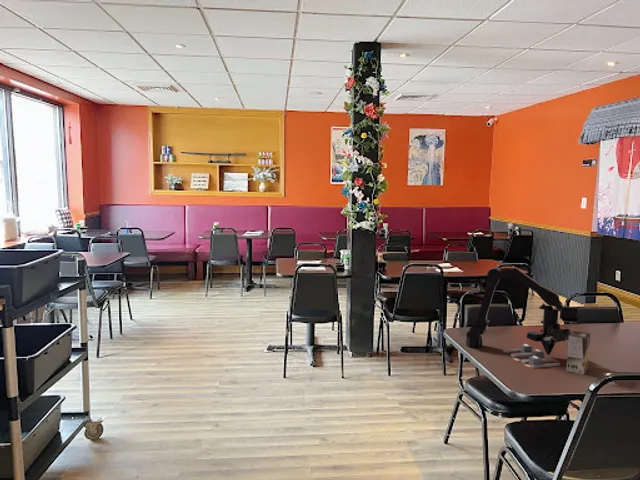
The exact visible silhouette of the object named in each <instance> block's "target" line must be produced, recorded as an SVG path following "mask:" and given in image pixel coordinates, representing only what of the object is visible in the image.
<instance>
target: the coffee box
mask: <svg viewBox="0 0 640 480" xmlns="http://www.w3.org/2000/svg"><path fill="white" fill-rule="evenodd" d="M590 340H591V333H587V332H584V331H583V332H582V331H575V330H574V331H571V334H570V335H569V340H567V341H568V342H567V343H568V344H567V357H566V369H565V370H566V372H569V373H575V374H579V375H584V374H585V373H586V372H587V371H588V369H589V354H590V343H591V342H590Z"/></svg>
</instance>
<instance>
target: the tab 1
mask: <svg viewBox="0 0 640 480" xmlns="http://www.w3.org/2000/svg"><path fill="white" fill-rule="evenodd" d="M519 346H520V348H519V349H520V352H519V353H530V352H532V350H533V346H532V345H530V344H527V343H523V344H520V345H519Z"/></svg>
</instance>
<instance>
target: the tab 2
mask: <svg viewBox="0 0 640 480" xmlns="http://www.w3.org/2000/svg"><path fill="white" fill-rule="evenodd" d="M533 356H538V357H540V358H545V350H542V349H537V348H535V349H532V356H530V357H533Z"/></svg>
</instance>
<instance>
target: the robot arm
mask: <svg viewBox="0 0 640 480" xmlns="http://www.w3.org/2000/svg"><path fill="white" fill-rule="evenodd" d="M507 278H515V279H516V280H517V281H519V282H520V283H521V284H523V285H525V286H526V287H527V288H528V289H530V290H531V291H533V292H534V293H536V294H537V296H538V297H539V298H540V299H541V300H542V301H543V303H542V304H541V305H539V307H538V308H539V309H540V310H543V314H542V315H543V317H542V320H540V323H541V324H542V329H540V331H539V332H538V331H535V330H534V331H528V332H527V333H526V338H527V339H529V340H531V341H533V342H540V343H541V344H542V346H543V349H544V352H545V354H546V355H547V356H549V355H551V353H552V351H553V349H554V348H555V346H556V344H557V343H560V342H566V341H568V340H569V335H570V334H571V333H572V331H571V330H570V329H569V328H561V324H560V322H558V321H559V319H560V320H561V321H562V322H564V323H565V322H566V323H574V324H578V318H579V316H578V306H569V305H568V306H567V305H564V304H563V302H562V301H561V300H560V296H559V294H558V292H557V291H555V290H553V289H552V288H549V287H547V286H544V285H542V284H540V283H539V282H538V281H536V280H535V279H533V278H532V277H531V276H529V275H528V274H527V273H524V272H523V271H522V270H520V268H519V267H516V266H513V267H501V268H500V267H498V266H494V267H492V268H490V269H489V270H488V271H487V274H486V286H485V287H486V288H485V291H484V295H483V298H482V301H481V304H480V307H479V312H478V314H477V317H476V318H475V320H474V322H473V324H472V325H471V327H470V328H469V329H468V330H467V332H466V333H465V334H466V337H465V347H467V348H469V349H470V348H471V349H479V348H481V347H483V339H482V338H483V336H481V335H483V334H484V333H485V332H487V330H488V327H489V326H488V325H489V323H490V321H491V320H490V319H488V314H489V310H490V307H491V303H492V301H493V296H494V293H495V290H496V287H497V285H498V284H499V282H500V280H501V279H507Z"/></svg>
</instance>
